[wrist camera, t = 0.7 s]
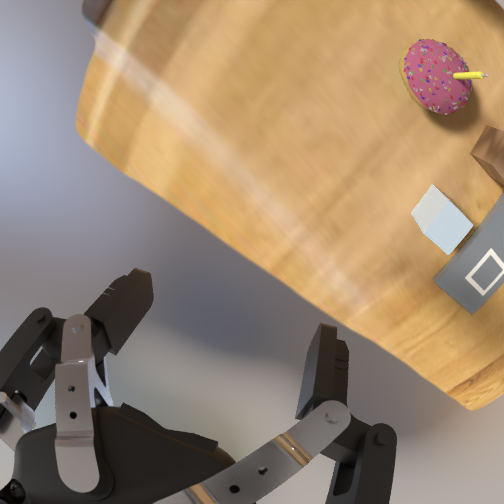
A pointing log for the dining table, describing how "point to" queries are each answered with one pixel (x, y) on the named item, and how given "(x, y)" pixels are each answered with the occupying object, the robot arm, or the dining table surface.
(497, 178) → the walnut block
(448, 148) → the dining table surface
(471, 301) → the grey flat plate
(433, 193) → the greyblue block
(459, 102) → the cupcake
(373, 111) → the dining table surface
